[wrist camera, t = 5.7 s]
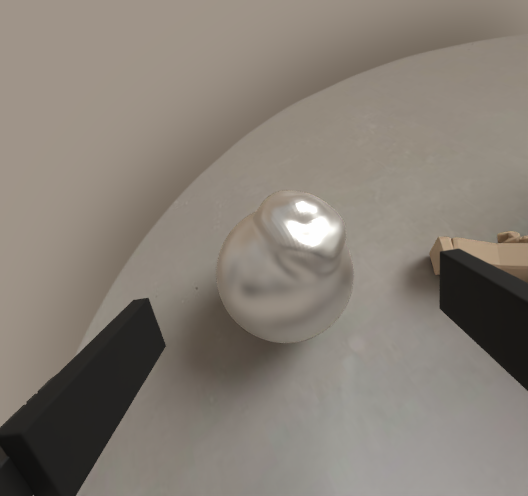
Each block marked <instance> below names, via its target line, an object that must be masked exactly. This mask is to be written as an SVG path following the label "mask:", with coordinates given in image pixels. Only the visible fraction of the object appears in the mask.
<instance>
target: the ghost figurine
mask: <svg viewBox="0 0 528 496" xmlns="http://www.w3.org/2000/svg"><path fill="white" fill-rule="evenodd" d="M216 279H217V286H218V291H219V294H220V297H221V300H222V302H223V304H224V306H225V308H226V310H227V311H228V313H229V314H230V316H231V317H232V318H233V319H234V321H235V322H236V323H237V324H238V325H240V326H241V327H242V328H243V329H244V330H246V331H247V332H249V333H251V334H252V335H254V336H256V337H258V338H261V339H264V340H267V341H271V342H277V343H294V342H300V341H304V340H307V339H310V338H313V337H315V336H317V335H319V334H320V333H322V332H324V331H325V330H326V329H328V328H329V327H330V326H331V325H332V324H333V323H334V322H335V321H336V320H337V319H338V318H339V317H340V315H341V314H342V312H343V311H344V309H345V307H346V305H347V303H348V301H349V298H350V296H351V292H352V288H353V280H354V269H353V262H352V257H351V254H350V251H349V248H348V246H347V244H346V227H345V223H344V221H343V219H342V217H341V216H340V215H339V213H338V212H337V211H336V210H335V209H334V208H332V207H331V206H330V205H329V204H327V203H326V202H325V201H323V200H322V199H320V198H319V197H317V196H315V195H312V194H310V193H306V192H301V191H288V190H286V191H278V192H275V193H273V194H271V195H270V196H269V197H267V198H266V199H265V201H264V202H263V203H262V204H261V205H260V207H259V208H258V210H257V211H256V212H254V213H252V214H250V215H249V216H247V217H246V218H244V219H243V220H242V221H241V222H239V223H238V224H237V225H236V226H235V227H234V228H233V230H232V231H231V232H230V233H229V235H228V236H227V238H226V239H225V241H224V243H223V245H222V248H221V250H220V253H219V257H218V261H217V269H216Z"/></svg>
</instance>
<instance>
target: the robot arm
mask: <svg viewBox="0 0 528 496" xmlns="http://www.w3.org/2000/svg"><path fill="white" fill-rule="evenodd" d="M440 309H441V310H442V311H443V312H444V313H445V314H446V315H447V316H448V317H449V318H450V319H452V320H453V321H454V322H455V323H456V324H457V325H458V326H459V327H460V328H461V329H462V330H463V331H464V332H465V333H466V334H468V335H469V336H470V337H471V338H472V339H473V340H474V341H475V342H476V343H477V344H478V345H479V346H480V347H481V348H483V349H484V350H485V351H486V352H487V353H488V354H489V355H490V356H491V357H492V358H493V359H494V360H495V361H496V362H498V363H499V364H500V365H501V366H502V367H503V368H504V369H505V370H506V371H507V372H508V373H509V374H510V375H511V376H512V377H514V378H515V379H516V380H517V381H518V382H519V383H520V384H521V385H522V386H523V387H524V388H525V389H526V390H527V391H528V283H527V282H525V281H523V280H521V279H519V278H517V277H515V276H513V275H511V274H509V273H507V272H505V271H503V270H501V269H499V268H497V267H495V266H493V265H491V264H489V263H487V262H485V261H483V260H481V259H479V258H477V257H475V256H473V255H471V254H469V253H467V252H465V251H463V250H461V249H459V248H458V249H452V250H446V251H440ZM165 347H166V345H165V342H164V339H163V337H162V334H161V331H160V328H159V326H158V323H157V320H156V318H155V315H154V312H153V309H152V307H151V304H150V301H149V299H148V298H144V299H138V300H133V301H132V302H131V303H130V304H129V305H128V306H127V307H126V308H125V309H124V310H123V311H122V312H121V313H120V314H119V315H118V316H117V317H116V318H115V319H113V320H112V321H111V322H110V323H109V324H108V325H107V326H106V327H105V328H104V329H103V330H102V331H101V332H100V333H99V334H98V335H97V336H96V337H95V338H94V339H93V340H92V341H91V342H90V343H89V344H88V345H87V346H86V347H85V348H84V349H83V350H82V351H81V352H80V353H79V354H78V355H76V356H75V357H74V358H73V359H72V360H71V361H70V362H69V363H68V364H67V365H66V366H65V367H64V368H63V369H62V370H61V371H60V372H59V373H58V374H57V375H55V376H54V377H53V378H51V379H50V380H49V381H48V382H47V383H46V384H45V385H44V386H43V387H42V388H41V389H40V390H39V391H38V393H37V394H34V395H33V396H32V398H30V399H29V400H28V401H27V404H26V405H23V406H22V407H21V408H20V409H19V410H18V411H17V412H16V413H15V414H14V415H13V416H12V417H11V418H10V419H9V420H8V421H6V422H5V423H4V424H3V425H2V426H1V427H0V496H33V495H34V496H76V494H77V492H78V491H79V489H80V487H81V486H82V484H83V483H84V481H85V479H86V478H87V476H88V474H89V473H90V471H91V469H92V468H93V466H94V464H95V463H96V461H97V459H98V458H99V456H100V454H101V453H102V451H103V449H104V448H105V446H106V444H107V443H108V441H109V439H110V438H111V436H112V434H113V433H114V431H115V429H116V428H117V426H118V425H119V423H120V421H121V420H122V418H123V416H124V415H125V413H126V411H127V410H128V408H129V406H130V405H131V403H132V401H133V400H134V398H135V396H136V395H137V393H138V391H139V390H140V388H141V386H142V385H143V383H144V381H145V380H146V378H147V376H148V375H149V373H150V371H151V370H152V368H153V366H154V365H155V363H156V362H157V360H158V358H159V357H160V355H161V353H162V352H163V350H164V348H165Z"/></svg>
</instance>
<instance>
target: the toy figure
mask: <svg viewBox="0 0 528 496" xmlns="http://www.w3.org/2000/svg"><path fill="white" fill-rule="evenodd" d="M497 237H498V243H489V242H483V241H476V240H470V239H464V238H457V237H455V238H452V239H450V238H449V237H438V238H437V240H436V242H435V244H434V246H433V247H432V249H431V251H430V258H431V261H432V265H433V268H434V272H435V274H436V275H440V251H446V250H452V249H458V248H459V249H461V250H463V251H465V252H467V253H469V254H471V255H473V256H475V257H477V258H479V259H481V260H483V261H485V262H487V263H489V264H491V265H493V266H495V267H497V268H499V269H501V270H503V271H505V272H507V273H509V274H511V275H513V276H515V277H517V278H519V279H521V280H523V281H525V282H527V283H528V236H523V237H520V234H519V233H517V232H512V231H507V232H502V233H499V234H498V235H497Z"/></svg>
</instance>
